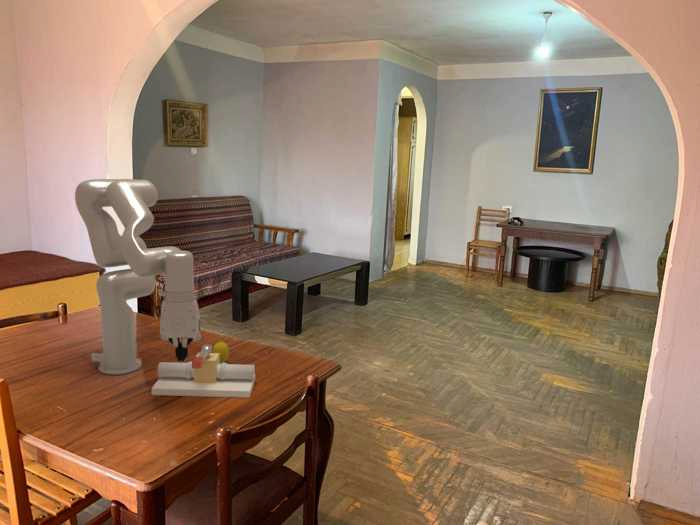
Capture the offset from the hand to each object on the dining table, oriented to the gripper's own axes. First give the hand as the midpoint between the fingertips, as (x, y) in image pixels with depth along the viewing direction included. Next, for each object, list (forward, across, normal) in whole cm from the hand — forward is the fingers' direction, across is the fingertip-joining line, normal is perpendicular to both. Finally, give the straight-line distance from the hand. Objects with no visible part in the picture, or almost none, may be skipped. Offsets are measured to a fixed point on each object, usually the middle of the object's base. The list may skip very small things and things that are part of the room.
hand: (181, 359), depth 150 cm
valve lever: (+1, +5, +5) cm, 7 cm away
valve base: (+12, +4, +9) cm, 15 cm away
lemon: (+12, +5, +26) cm, 30 cm away
